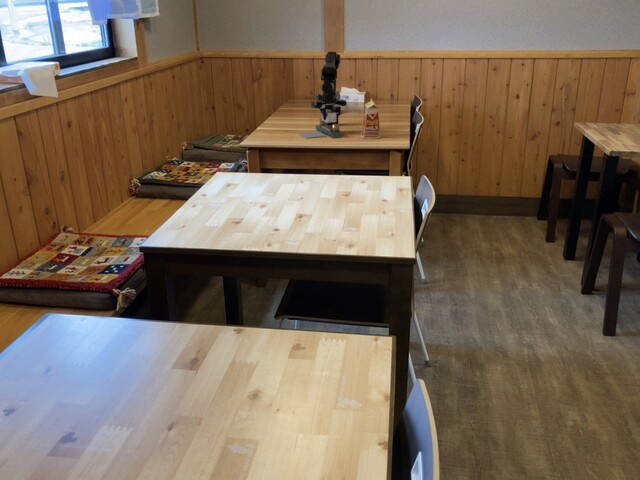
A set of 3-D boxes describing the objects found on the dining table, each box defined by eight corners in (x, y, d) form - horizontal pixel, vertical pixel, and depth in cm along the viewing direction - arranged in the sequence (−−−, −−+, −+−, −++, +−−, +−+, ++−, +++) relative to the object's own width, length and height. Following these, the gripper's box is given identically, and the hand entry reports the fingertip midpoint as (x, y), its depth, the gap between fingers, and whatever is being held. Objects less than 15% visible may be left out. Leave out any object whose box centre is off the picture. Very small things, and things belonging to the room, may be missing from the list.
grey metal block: (321, 120, 318) (321, 109, 316) (330, 119, 320) (330, 108, 318) (327, 122, 312) (327, 112, 309) (336, 122, 314) (336, 111, 311)
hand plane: (316, 130, 327) (316, 117, 324) (325, 129, 329) (325, 117, 326) (332, 138, 308) (332, 125, 306) (342, 137, 311) (342, 124, 308)
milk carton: (361, 135, 315) (361, 98, 307) (377, 135, 315) (379, 97, 308) (363, 139, 306) (364, 100, 298) (380, 138, 307) (382, 100, 299)
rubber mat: (318, 132, 322) (318, 131, 322) (326, 136, 312) (326, 135, 312) (298, 134, 318) (298, 133, 318) (306, 138, 308) (306, 137, 308)
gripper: (338, 87, 320) (338, 115, 326) (307, 89, 313) (307, 118, 319) (347, 90, 311) (346, 119, 317) (315, 92, 304) (315, 122, 310)
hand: (329, 119), depth 316 cm, fingers closed on grey metal block, 5 cm apart
